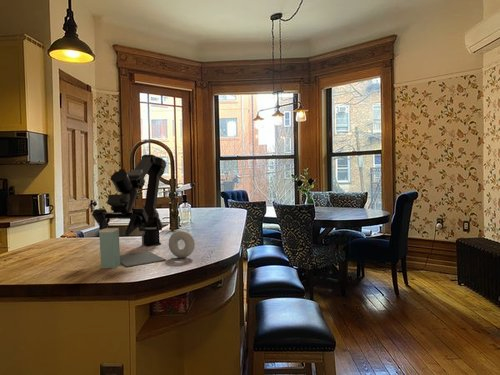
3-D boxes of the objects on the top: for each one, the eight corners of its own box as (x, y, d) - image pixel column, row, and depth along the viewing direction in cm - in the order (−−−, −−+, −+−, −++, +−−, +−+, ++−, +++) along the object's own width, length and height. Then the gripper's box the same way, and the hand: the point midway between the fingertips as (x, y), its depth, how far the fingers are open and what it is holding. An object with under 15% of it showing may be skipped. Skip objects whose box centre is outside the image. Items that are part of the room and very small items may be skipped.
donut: (196, 257, 133) (195, 229, 133) (192, 259, 130) (191, 231, 130) (171, 256, 136) (170, 229, 136) (167, 258, 133) (166, 230, 132)
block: (107, 264, 127) (106, 228, 126) (120, 264, 126) (118, 228, 125) (101, 268, 122) (99, 230, 121) (114, 268, 122) (112, 230, 121)
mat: (148, 252, 144) (148, 251, 144) (165, 260, 130) (165, 259, 130) (112, 257, 137) (112, 256, 137) (126, 267, 122) (126, 266, 122)
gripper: (93, 186, 132) (77, 221, 121) (143, 185, 130) (131, 220, 119) (105, 206, 140) (91, 241, 130) (153, 205, 138) (142, 240, 127)
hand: (113, 235), depth 126 cm, fingers open, 9 cm apart
